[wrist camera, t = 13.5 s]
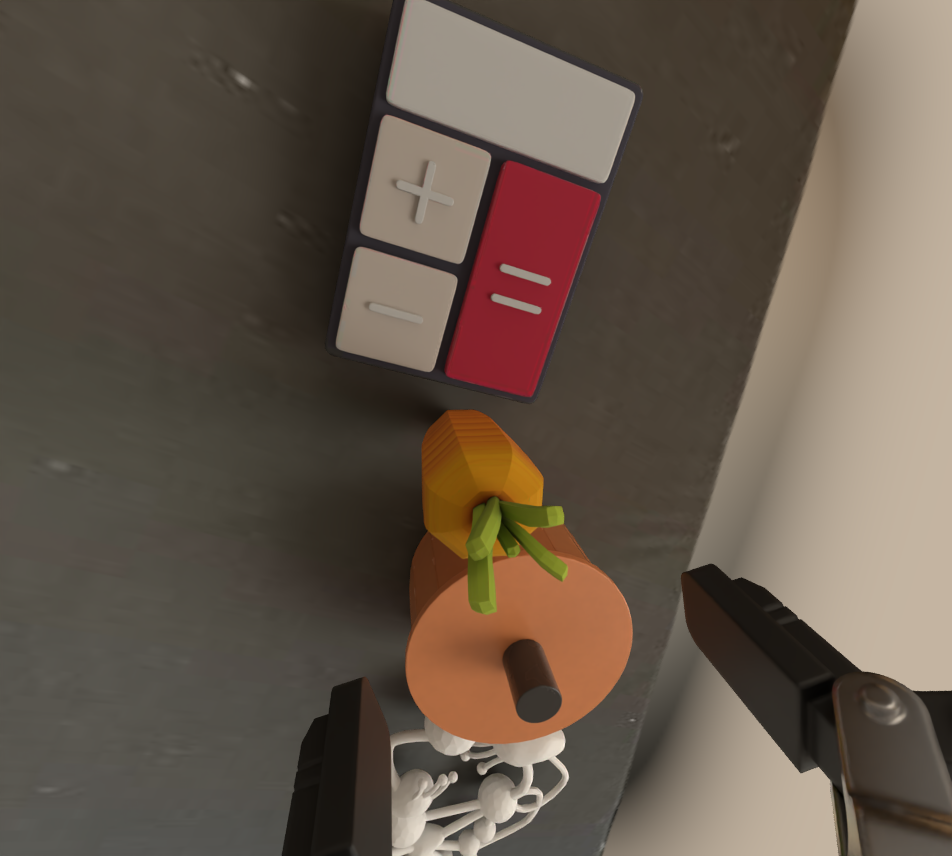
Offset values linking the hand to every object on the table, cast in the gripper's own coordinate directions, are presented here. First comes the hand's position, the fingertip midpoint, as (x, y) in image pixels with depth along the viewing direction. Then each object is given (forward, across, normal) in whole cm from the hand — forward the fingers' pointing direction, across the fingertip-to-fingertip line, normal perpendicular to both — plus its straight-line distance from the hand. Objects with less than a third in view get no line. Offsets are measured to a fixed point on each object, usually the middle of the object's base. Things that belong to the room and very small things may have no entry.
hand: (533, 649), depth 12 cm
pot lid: (+11, 0, +11) cm, 15 cm away
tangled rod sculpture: (+18, +7, +27) cm, 33 cm away
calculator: (+18, -4, -10) cm, 21 cm away
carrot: (+18, 0, 0) cm, 18 cm away
